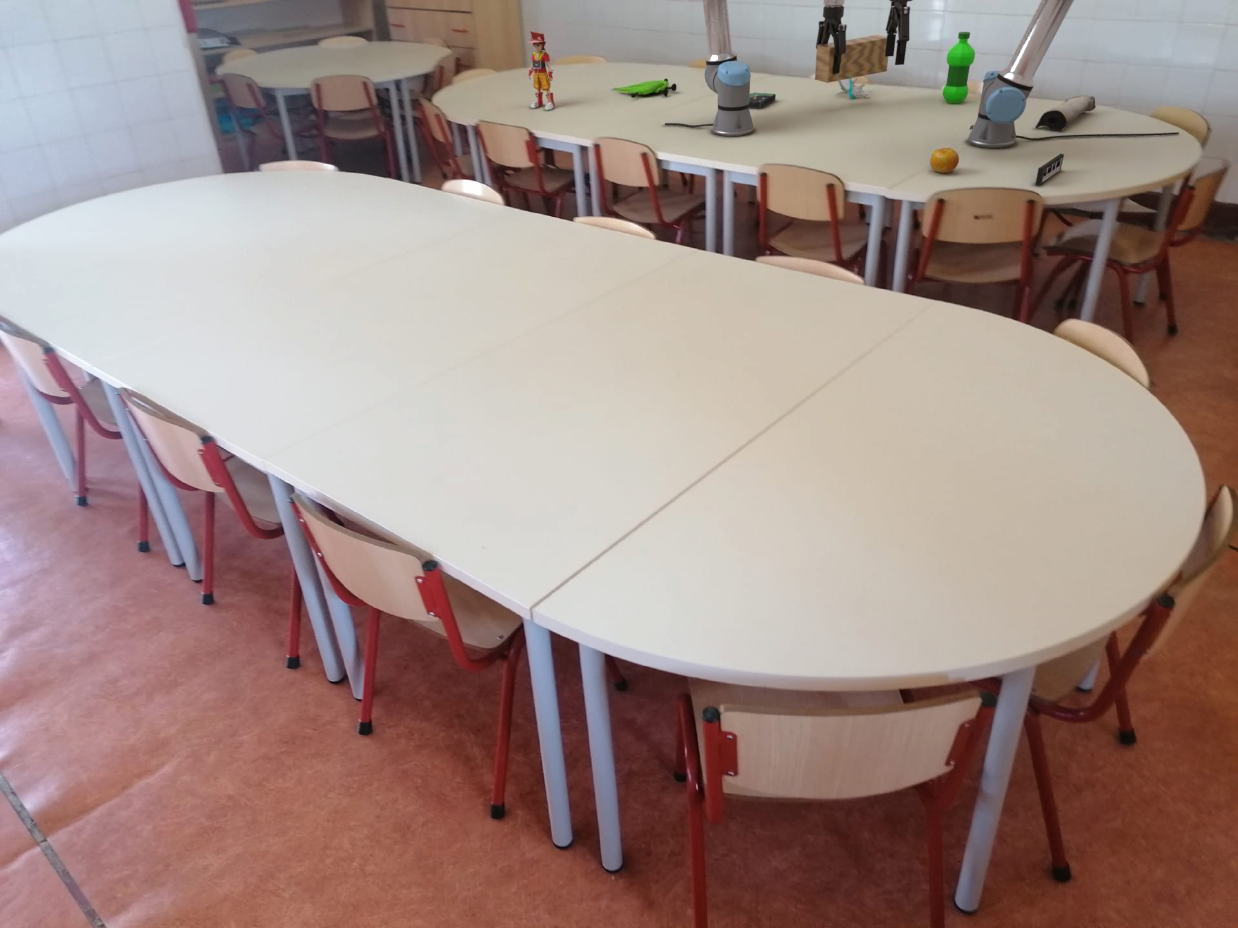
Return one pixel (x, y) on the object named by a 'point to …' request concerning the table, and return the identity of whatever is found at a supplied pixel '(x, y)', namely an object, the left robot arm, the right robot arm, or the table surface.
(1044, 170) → the midi keyboard
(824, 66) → the box
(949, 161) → the fruit
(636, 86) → the toy
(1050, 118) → the rolled mat
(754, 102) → the disk drive
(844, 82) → the anatomical model
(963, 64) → the plastic bottle
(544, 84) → the toy
